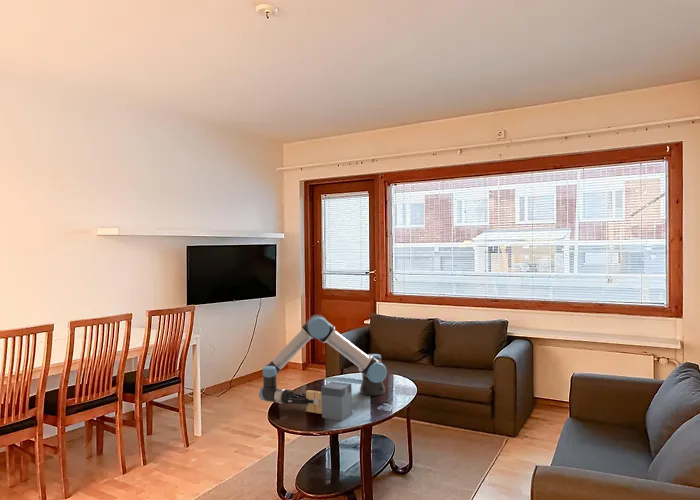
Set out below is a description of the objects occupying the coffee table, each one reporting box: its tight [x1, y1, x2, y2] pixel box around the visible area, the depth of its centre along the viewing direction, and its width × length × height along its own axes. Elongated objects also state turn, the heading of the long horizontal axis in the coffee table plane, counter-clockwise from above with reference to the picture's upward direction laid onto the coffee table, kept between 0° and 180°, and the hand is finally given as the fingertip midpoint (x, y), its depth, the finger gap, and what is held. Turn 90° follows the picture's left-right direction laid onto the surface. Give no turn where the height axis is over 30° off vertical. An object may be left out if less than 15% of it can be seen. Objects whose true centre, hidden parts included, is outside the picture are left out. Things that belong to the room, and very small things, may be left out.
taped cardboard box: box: [305, 389, 322, 415], centre depth 268 cm, size 15×3×11 cm, turn 62°
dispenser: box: [320, 381, 353, 421], centre depth 263 cm, size 13×11×16 cm
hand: (320, 401), depth 267 cm, fingers closed on taped cardboard box, 3 cm apart
